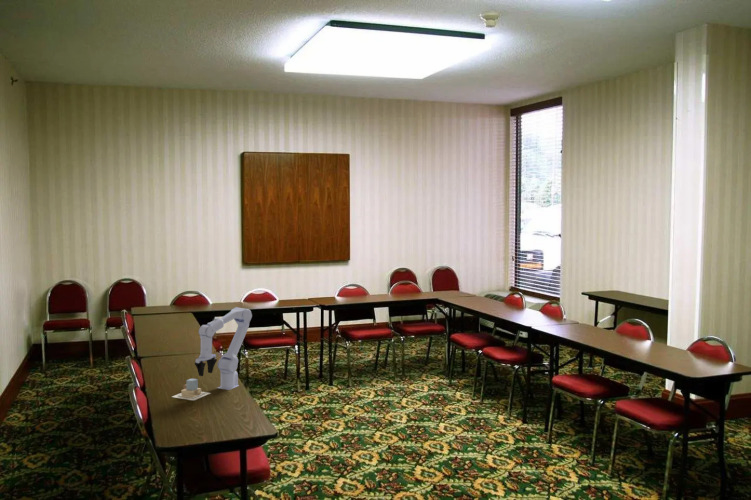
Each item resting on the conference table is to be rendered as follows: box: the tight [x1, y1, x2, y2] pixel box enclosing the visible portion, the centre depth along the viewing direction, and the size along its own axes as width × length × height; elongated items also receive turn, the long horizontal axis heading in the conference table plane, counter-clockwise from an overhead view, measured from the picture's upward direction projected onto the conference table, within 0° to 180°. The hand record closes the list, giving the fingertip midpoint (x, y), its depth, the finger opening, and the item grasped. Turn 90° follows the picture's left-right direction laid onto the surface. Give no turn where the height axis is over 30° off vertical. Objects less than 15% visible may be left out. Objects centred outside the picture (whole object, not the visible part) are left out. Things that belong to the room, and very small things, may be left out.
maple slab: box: [180, 387, 202, 398], centre depth 329 cm, size 7×7×3 cm
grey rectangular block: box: [185, 378, 199, 391], centre depth 329 cm, size 4×4×5 cm
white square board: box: [171, 391, 211, 401], centre depth 329 cm, size 14×14×1 cm
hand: (205, 374), depth 332 cm, fingers open, 7 cm apart
